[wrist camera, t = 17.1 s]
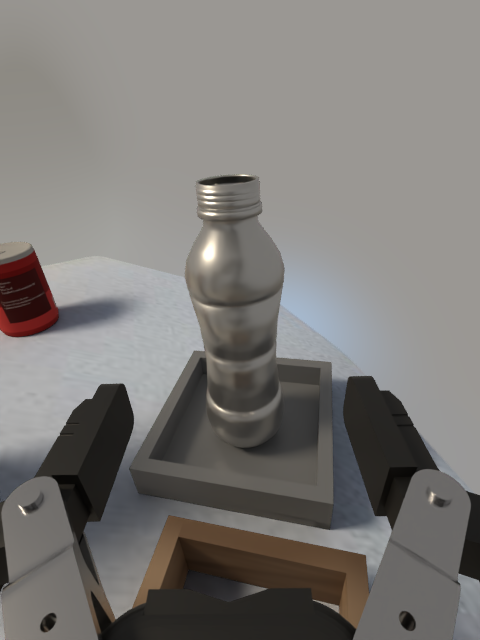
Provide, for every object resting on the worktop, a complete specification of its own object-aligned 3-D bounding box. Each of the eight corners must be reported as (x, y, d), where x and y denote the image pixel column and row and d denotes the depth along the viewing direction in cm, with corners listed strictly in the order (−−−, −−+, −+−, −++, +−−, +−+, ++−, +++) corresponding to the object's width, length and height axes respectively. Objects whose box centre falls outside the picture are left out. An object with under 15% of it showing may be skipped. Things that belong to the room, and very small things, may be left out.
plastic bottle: (277, 395, 32) (276, 167, 21) (290, 456, 26) (297, 185, 16) (210, 401, 32) (175, 175, 21) (208, 464, 26) (160, 196, 16)
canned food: (27, 309, 53) (-5, 241, 47) (71, 311, 51) (45, 241, 45) (-13, 336, 46) (-54, 262, 41) (37, 339, 45) (2, 262, 39)
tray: (329, 529, 22) (333, 504, 21) (138, 493, 25) (128, 468, 24) (329, 385, 34) (331, 362, 32) (197, 372, 37) (194, 350, 35)
